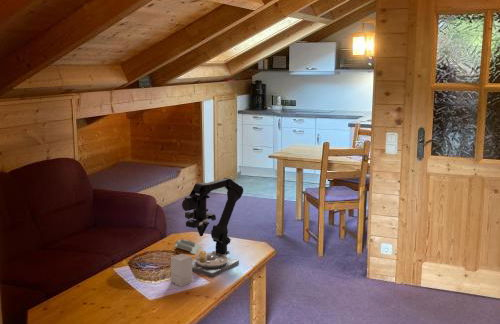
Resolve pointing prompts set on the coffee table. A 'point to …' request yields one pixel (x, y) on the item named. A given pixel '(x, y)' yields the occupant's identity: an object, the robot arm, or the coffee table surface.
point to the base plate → (216, 270)
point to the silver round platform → (211, 259)
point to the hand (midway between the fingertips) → (201, 236)
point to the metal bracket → (187, 246)
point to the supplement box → (181, 269)
